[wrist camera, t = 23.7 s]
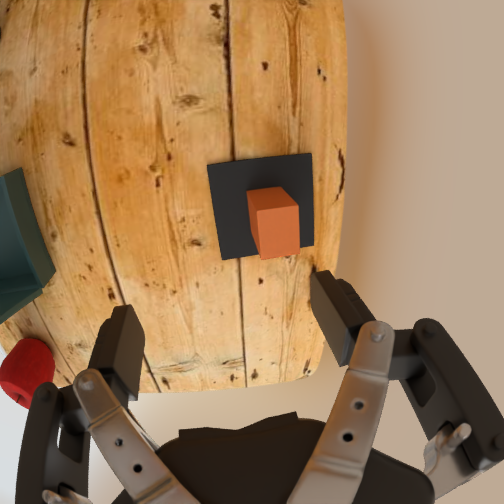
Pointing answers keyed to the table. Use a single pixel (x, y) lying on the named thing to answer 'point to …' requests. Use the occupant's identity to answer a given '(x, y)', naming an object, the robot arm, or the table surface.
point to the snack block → (274, 222)
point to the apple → (26, 370)
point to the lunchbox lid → (16, 301)
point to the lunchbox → (20, 239)
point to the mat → (251, 178)
